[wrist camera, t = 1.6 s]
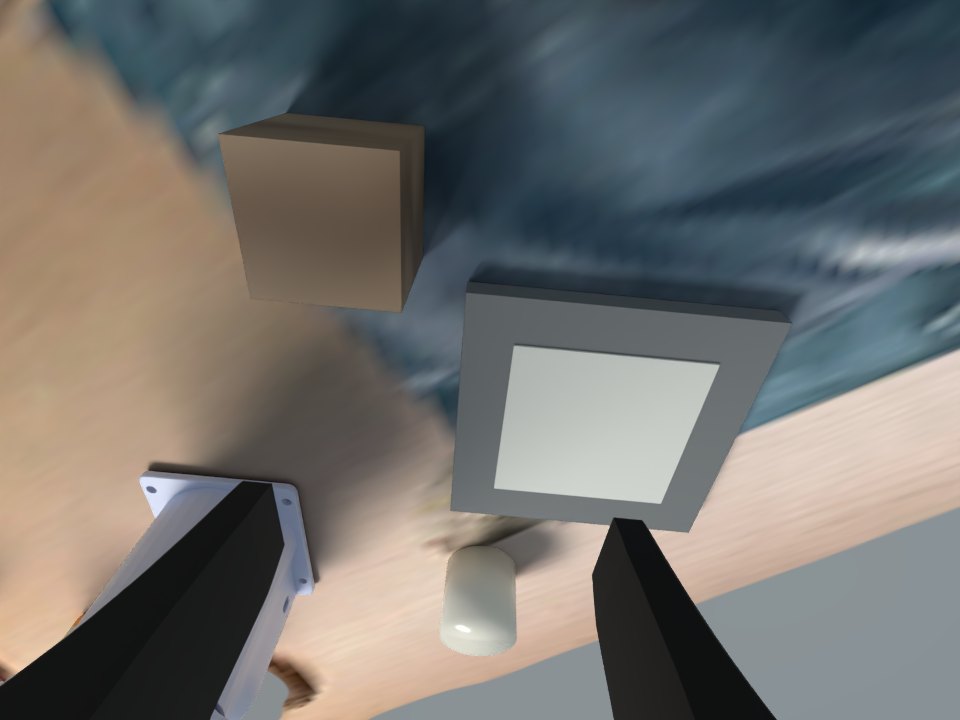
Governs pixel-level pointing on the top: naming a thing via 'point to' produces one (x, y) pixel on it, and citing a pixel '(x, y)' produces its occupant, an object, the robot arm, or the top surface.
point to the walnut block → (328, 209)
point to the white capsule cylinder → (479, 602)
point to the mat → (602, 402)
